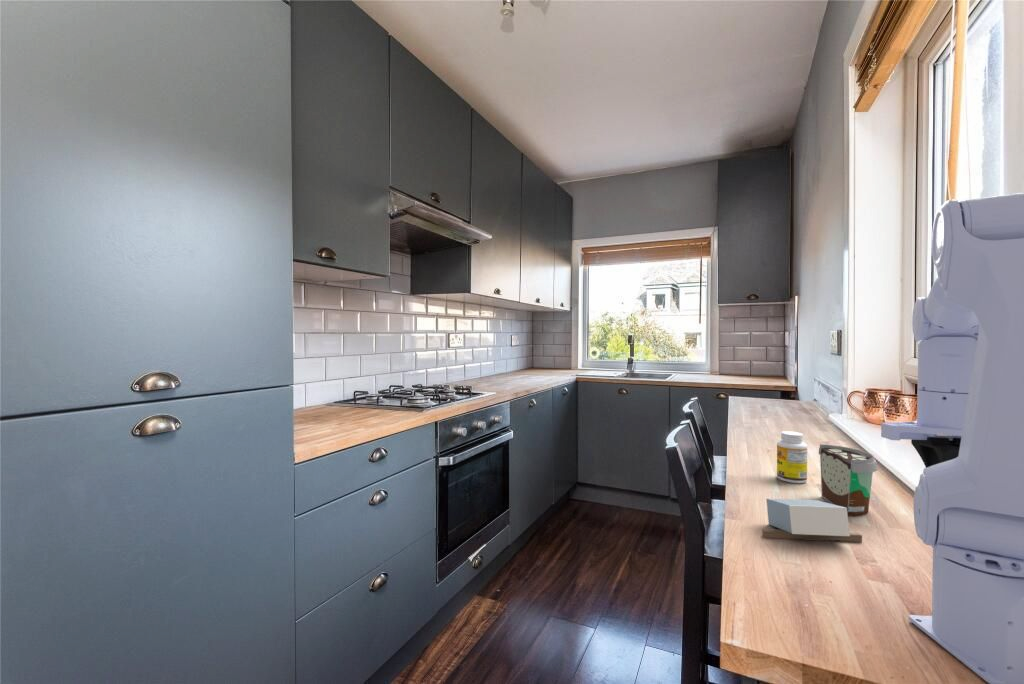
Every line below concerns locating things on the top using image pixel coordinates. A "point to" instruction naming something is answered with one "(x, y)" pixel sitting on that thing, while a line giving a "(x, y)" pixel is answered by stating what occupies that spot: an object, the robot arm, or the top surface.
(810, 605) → the top surface
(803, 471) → the supplement bottle
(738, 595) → the top surface
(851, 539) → the batten
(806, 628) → the top surface
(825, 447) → the food container
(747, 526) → the top surface
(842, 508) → the block
